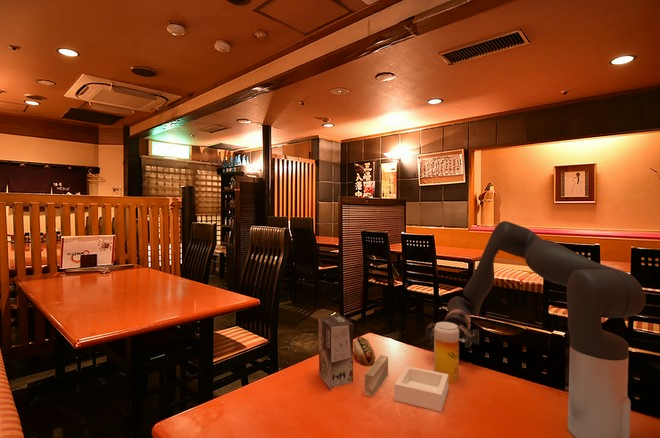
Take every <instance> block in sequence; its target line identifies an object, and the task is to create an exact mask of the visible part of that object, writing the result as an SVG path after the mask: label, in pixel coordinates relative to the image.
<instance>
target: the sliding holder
mask: <svg viewBox="0 0 660 438" xmlns="http://www.w3.org/2000/svg"><path fill="white" fill-rule="evenodd" d="M448 378H449V374H444V373H440V372H435V371H434V370H429V369H423V368H419V367H414V366H410V365H405V367H404V369H402V372H401V373H400V375H399V376H398V377H397V379H396V381H395V383H394V396H393V397H394V399H393V400H394V401H396V402H401V403H404V404H408V405H411V406H416V407H420V408H424V409H427V410H431V411H436V412H440V413H442V411H443V407H444V405H445V401H446V399H447V395H448V392H449V384H448Z"/></svg>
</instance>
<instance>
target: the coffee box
mask: <svg viewBox="0 0 660 438" xmlns="http://www.w3.org/2000/svg"><path fill="white" fill-rule="evenodd" d="M318 373H319V374H318V376H319V377H320V378H321V380H322V381H323V382H324V384H325V385H326V386H327V387H328V389H330V391H333V390H334V388H336V387H338V386H339V387H340V386H345V385H348V384H349V385H350V384H353V383H354V323H353V322H351V321H350V320H349V319H347V318H346V317H344V316H342V315H341V314H332V315H327V316H321V317H320V316H319V317H318Z"/></svg>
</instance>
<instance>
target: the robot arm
mask: <svg viewBox="0 0 660 438" xmlns="http://www.w3.org/2000/svg"><path fill="white" fill-rule="evenodd" d="M499 251H501V252H504V253H506V254H509V255H511V256H512V255H513V256H515V257H518V258H522V259H524V260H525V263H526V265H527V267H528V268H529V269H530V270H531V271H532V272H534V274H536V275H538V276H539V277H541V278H543V279H544V280H546V281H548V282H550V283H553V284H557V285H560V286H564V287H566V305H567V306H566V307H567V308H566V309H567V311H566V312H567V330H568V334H569V341H570V342H569V364H568V365H569V372H568V375H569V376H568V401H567V403H568V404H567V405H568V407H567V411H568V412H567V429H568V431H569V433H570V434H571V435H572V436H573V437H574V438H630V436H631V435H630V433H631V405H632V404H631V399H630V398H629V397H628V383H629V382H628V381H629V357H630V356H629V353H630V348H629V347H630V346H629V343H628V341H626V339H624V338H622V337H621V336H619V335H617V334H615V333H612V332H609V331H607V330H603V327H602V320H601V319H602V318H607V319H608V318H610V319H612V318H613V319H614V318H615V319H619V318H620V319H623V318H629V317H633V316H637V315H638V314H639V313H641V312H642V311H643V309H644V308H645V307H646V306H645V305H646V300H647V299H646V294H645V290H644V288H643V287H642V285H641V283H640V282H639V281H638V280H637V279H636V278H635V277H634V276H633V275H631V274H630V273H628V272H626V271H625V270H621V269H618V268H615V267H612V266H608V265H606V264H602V263H600V262H596V261H594V260H592V259H589V258H588V257H586V256H584V255H581V254H579V253H577V252H575V251H573V250H571V249H569V248H567V247H565V246H563V245H561V244H559V243H557V242H555V241H552V240H549V239H543V238H541V237H540V236H538V235H537V234H536V233H535V232H534V231H532V230H531V229H529V228H527V227H525V226H521V225H518V224H515V223H513V222H510V221H507V220H505V221H504V220H503V221H501V222H499V223H498V224H497V225H496V226H495V227H494V229H493V230H492V233H491V234H490V236H489V239H488V241H487V243H486V246H485V248H484V250H483V251H482V255H481V257H480V260H479V262H478V264H477V266H476V268H475V270H474V272H473V274H472V276H471V277H470V278H469V280H468V282H467V283H466V285H465V286H464V288H463V290H462V293H463V295H464V297H465V298H466V299H467V300H468V301H467V300H466V299H465V298H463V297H461V296H456V295H455V296H454V297H452V298H450V300H449V301H448V304H447V306H446V307H447V308H446V310H447V309H448V311H449V313H447V315H446V316H445V318H444V320H443V321H442V322H450V323H454V324H456V325H457V326H458V329H459V342H462V343H464V348H465V349H468V348H470V347H471V346H472V344H474V345H478V346H479V345H480V329H478V328H475V329H472V330H470V329H471V324H470V322H471V317H469V315H474V316H478V317H479V315H480V312H481V311H480V310H481V307H482V303H483V302H484V300H485V298H486V297H487V295H488V294H489V293H490V291H491V290H492V288H493V287H494V284H495V258H496V256H497V254H498V252H499ZM435 326H436V323H435V322H430V323H429V324H428V325H427V326H426V335H425V336H426V337H428V338H429V340H430V341H431V342H432V343H434V328H435Z"/></svg>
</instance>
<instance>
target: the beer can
mask: <svg viewBox="0 0 660 438" xmlns="http://www.w3.org/2000/svg"><path fill="white" fill-rule="evenodd" d="M459 360H460V340H459V329H458V326H457V325H456V324H454V323H450V322H443V321H439V322H436V323H435V328H434V342H433V371H435V372H440V373H444V374H449V378H448V385H454V384H457V383H459V374H460V373H459V367H460V366H459V364H460V363H459Z"/></svg>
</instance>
